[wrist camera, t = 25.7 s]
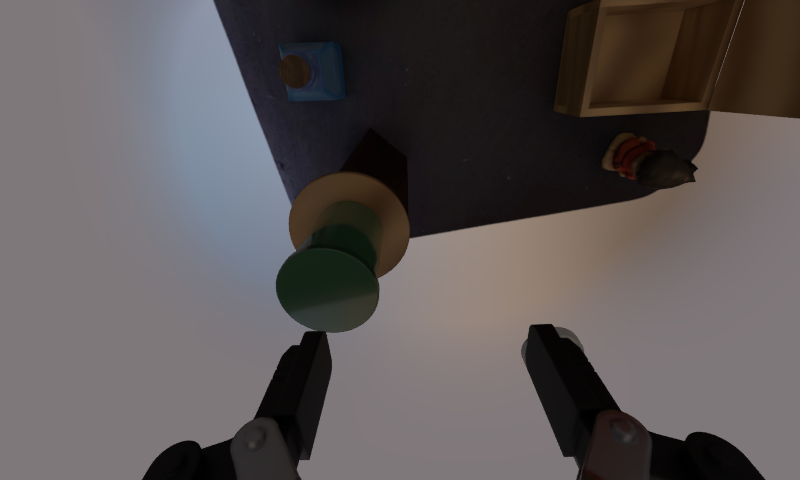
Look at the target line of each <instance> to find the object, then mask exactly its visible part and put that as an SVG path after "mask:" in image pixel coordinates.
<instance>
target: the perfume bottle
mask: <svg viewBox="0 0 800 480" xmlns="http://www.w3.org/2000/svg"><path fill="white" fill-rule="evenodd" d="M279 49H280V55H281V62H280V66H279V73H280V76H281V79H282V80H283V82H284V83H285V84H286V89H287V95H288V101H289V102H292V101H318V100H339V99H342V98H345V97H346V90H345V80H344V70H343V60H342V50H341V46H340V45H338V44H336V43H334V42H332V41H329V42H307V43H284V44H279Z"/></svg>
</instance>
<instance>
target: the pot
mask: <svg viewBox="0 0 800 480" xmlns="http://www.w3.org/2000/svg"><path fill="white" fill-rule="evenodd" d="M382 242H383V227H382V224H381V221H380V219H379V218H378V216H377V215H376V214H375V213H374V212H373V211H372V210H371V209H370V208H368V207H367V206H365V205H363V204H361V203H358V202H354V201H340V202H336V203H333V204H331V205H329V206H328V207H326V208H325V209H324V210H323V211H322V212H321V213H320V215H319V217H318V218H317V220H316V221H315V223H314V225H313V226H312V228H311V229H310V231H309V232H308V234H307V236H306V237H305V239H304V240H303V242H302V244H301V245H300V247H299V248H298V250H297V251H296V252H294V253H293V254H292V255H291V256H289V257H288V259H287V260H286V261H285V262H284V264H283V265H282V267H281V269H280V270H279V273H278V275H277V279H276V292H277V296H278V299H279V301H280V303H281V305H282V307H283V308H284V310H285V311H286V312H287V313H288V314H289V315H290V316H291V317H292V318H293V319H294V320H296V321H297V322H299V323H300V324H302V325H304V326H306V327H308V328H311V329H314V330H317V331H325V332H331V333H334V332H335V333H337V332H344V331H348V330H352V329H354V328H356V327H358V326H360V325H362V324H363V323H364V322H366V321H367V320H368V319H369V318H370V317H371V316H372V314H373V313H374V311H375V309H376V307H377V304H378V300H379V282H378V279H377V277H378V270H379V263H380V256H381V249H382Z"/></svg>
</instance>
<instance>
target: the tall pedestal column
mask: <svg viewBox="0 0 800 480" xmlns="http://www.w3.org/2000/svg"><path fill="white" fill-rule="evenodd" d="M340 201H354V202H358V203H361V204H363V205H365V206H367V207H368V208H370V209H371V210H372V211H373V212H374V213H375V214H376V215H377V216H378V218H379V219H380V221H381V224H382V227H383V242H382V249H381V256H380V263H379V270H378V277H377V278H379V277H381V276H383V275H385V274H386V273H388V272H389V271H391V270H392V269H393V268H394V267H395V266H396V265H397V264H398V263H399V262H400V260H401V259H402V257H403V256H404V254H405V252H406V249H407V246H408V243H409V236H410V227H409V219H408V172H407V157H405V156H404V155H403V154H402V153H401V152H399V151H398V150H397V149H396V148H394V147H393V146H392V145H391V144H390V143H388V142H387V141H386V140H385V139H383V138H382V137H381V136H380V135H379V134H377V133H376V132H375V131H374V130H373V129H371V128H370V129H369V131H368V132H367V133H366V135H365V136H364V137H363V139H362V140H361V142H360V143H359V144H358V146H357V147H356V149H355V150H354V151H353V153H352V154H351V155H350V157H349V158H348V160H347V161H346V162H345V164H344V165H343V166H342V168H341V169H340V171H339V172H334V173H329V174H326V175H323V176H321V177H319V178H317V179H315V180H313V181H312V182H311V183H309V184H308V185H307V186H306V187H305V188H304V189H303V190H302V191H301V192H300V193H299V195H298V196H297V197H296V199H295V201H294V203H293V205H292V208H291V211H290V216H289V232H290V236H291V240H292V243H293V245H294V247H295V249H296V251H297V250H298V248H299V247H300V245H301V244H302V242H303V240H304V239H305V237H306V236H307V234H308V232H309V231H310V229H311V228H312V226H313V225H314V223H315V221H316V220H317V218H318V217H319V215H320V213H321V212H322V211H323V210H324V209H325V208H326V207H328V206H329V205H331V204H333V203H336V202H340Z"/></svg>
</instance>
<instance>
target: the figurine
mask: <svg viewBox="0 0 800 480" xmlns="http://www.w3.org/2000/svg"><path fill="white" fill-rule="evenodd" d="M691 162H692V161H689V160H686V159H683V160H682V159H681V158H680V157H679V156H678V155H677V154H676V153H675V152H674V151H673V150H668V149H663V150H656V149H655V143H654V142H653V140H650V141H647V140H646V138H645V137H643V136H641V137H636V136H635V135H633V134H632V133H621V134H619V135H617V136H616V137H615V138H614V140H613V141H612V143H611V144H610V146H609V147H608V149H607V150H606V152H605V154H604V156H603V158H602V160H601V167H602V168H603V169H606V170H608V171H618V172H619V174H620V176H622V177H624V176H626V177H627V178H629V179H634V180H636V179H637V182H638V184H640V185H641V186H643V187H644V188H646V189H651V190H660V189H667V188H673V187H676V186H679V185H681V184H684V183H688V182H696V181H695V178H694V175H693V173H694V172H695V171H696V170H697V169H698V168H697V167H696V166H695V165H694V164H693V163H691Z"/></svg>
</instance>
